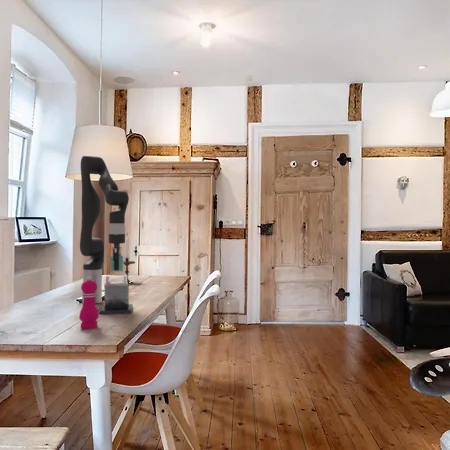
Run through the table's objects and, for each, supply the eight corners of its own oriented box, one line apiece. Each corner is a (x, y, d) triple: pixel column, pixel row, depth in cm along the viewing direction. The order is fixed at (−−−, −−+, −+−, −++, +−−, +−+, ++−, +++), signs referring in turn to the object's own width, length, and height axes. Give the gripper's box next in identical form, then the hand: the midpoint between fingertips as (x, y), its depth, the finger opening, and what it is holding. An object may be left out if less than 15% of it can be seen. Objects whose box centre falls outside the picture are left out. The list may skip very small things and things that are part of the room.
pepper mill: (87, 330, 159) (88, 278, 159) (75, 327, 163) (75, 276, 162) (102, 326, 165) (102, 276, 165) (90, 324, 169) (90, 274, 169)
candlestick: (132, 284, 279) (133, 232, 278) (116, 283, 279) (117, 231, 279) (136, 281, 289) (136, 231, 289) (121, 281, 290) (121, 231, 289)
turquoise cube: (110, 271, 192) (110, 256, 192) (111, 270, 197) (111, 255, 197) (122, 271, 193) (122, 256, 193) (123, 270, 198) (123, 255, 197)
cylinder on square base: (99, 314, 186) (99, 277, 186) (103, 307, 200) (103, 274, 200) (131, 313, 189) (131, 277, 189) (132, 307, 203) (132, 273, 203)
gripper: (110, 232, 201) (110, 267, 201) (107, 233, 187) (106, 271, 187) (126, 232, 202) (126, 267, 202) (124, 233, 188) (124, 271, 188)
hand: (116, 269), depth 195 cm, fingers closed on turquoise cube, 5 cm apart
